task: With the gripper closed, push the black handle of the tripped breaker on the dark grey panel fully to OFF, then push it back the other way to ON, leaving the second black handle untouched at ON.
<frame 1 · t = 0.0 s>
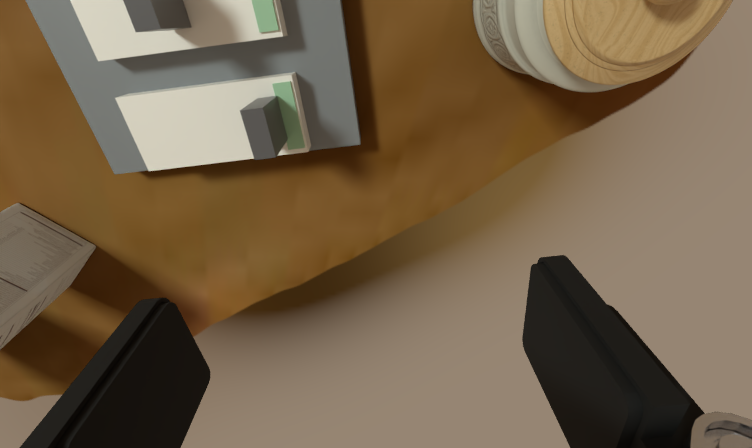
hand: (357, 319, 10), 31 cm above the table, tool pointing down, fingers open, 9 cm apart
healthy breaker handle: (266, 126, 31), point 7 cm above the table, slide at 5.5 cm
supplement box: (47, 246, 45), on the table
breaker panel: (215, 62, 35), on the table
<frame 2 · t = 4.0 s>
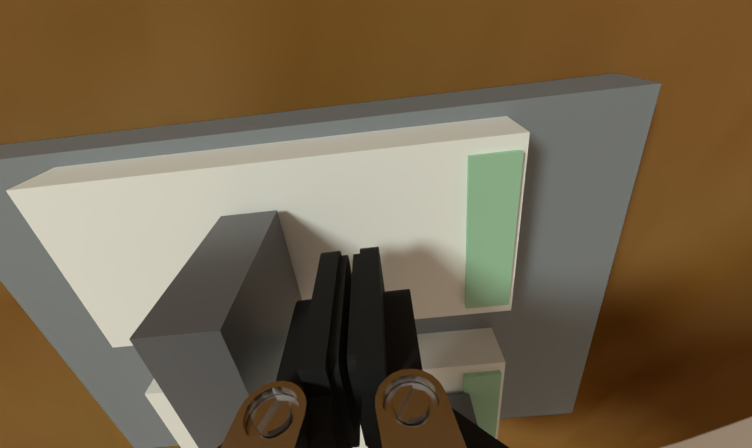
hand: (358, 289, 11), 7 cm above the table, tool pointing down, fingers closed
tripped breaker handle: (243, 317, 10), point 7 cm above the table, slide at -0.7 cm, touching gripper
breaker panel: (325, 285, 19), on the table
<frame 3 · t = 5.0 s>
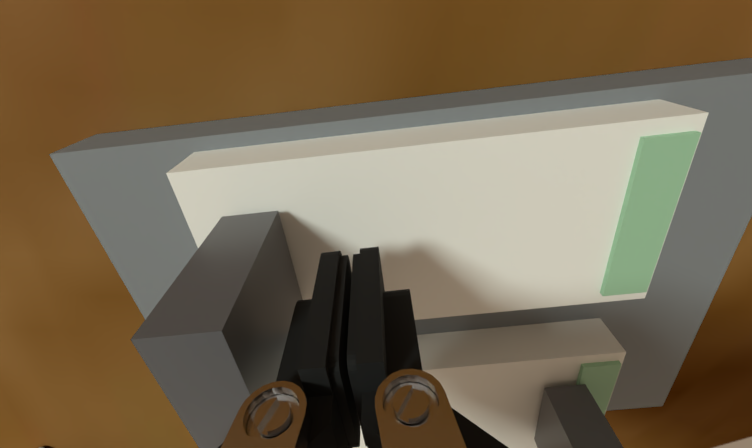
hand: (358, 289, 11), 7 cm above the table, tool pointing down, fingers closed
tripped breaker handle: (244, 317, 10), point 7 cm above the table, slide at -5.8 cm, touching gripper
breaker panel: (422, 276, 19), on the table
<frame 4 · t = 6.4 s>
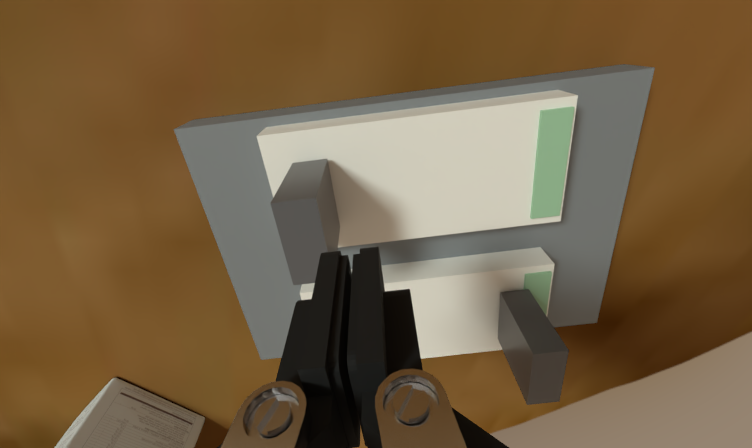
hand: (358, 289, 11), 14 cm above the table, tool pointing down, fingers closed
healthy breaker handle: (527, 343, 21), point 7 cm above the table, slide at 5.5 cm
supplement box: (141, 418, 35), on the table
tripped breaker handle: (311, 217, 17), point 7 cm above the table, slide at -5.6 cm
breaker panel: (415, 224, 26), on the table
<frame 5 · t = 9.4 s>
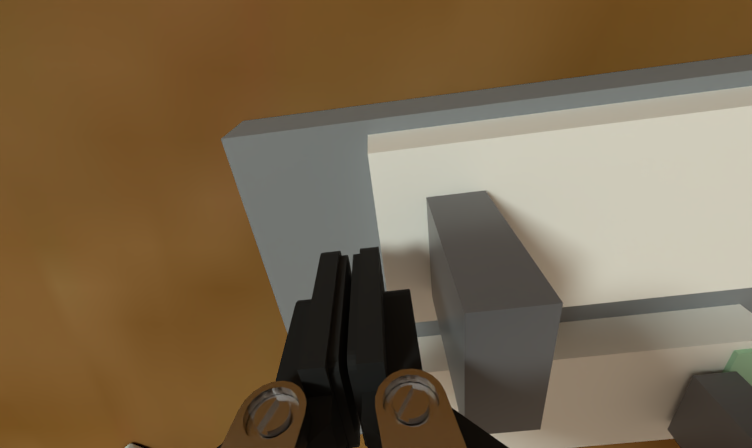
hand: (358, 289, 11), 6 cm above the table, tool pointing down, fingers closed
tripped breaker handle: (476, 298, 10), point 7 cm above the table, slide at -5.5 cm, touching gripper
breaker panel: (544, 265, 18), on the table
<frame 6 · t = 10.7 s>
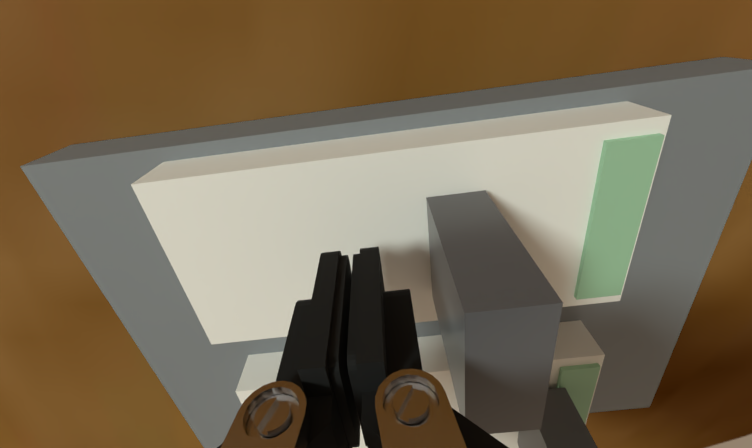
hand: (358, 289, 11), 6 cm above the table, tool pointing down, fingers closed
tripped breaker handle: (476, 298, 10), point 7 cm above the table, slide at 1.8 cm, touching gripper
breaker panel: (403, 280, 19), on the table
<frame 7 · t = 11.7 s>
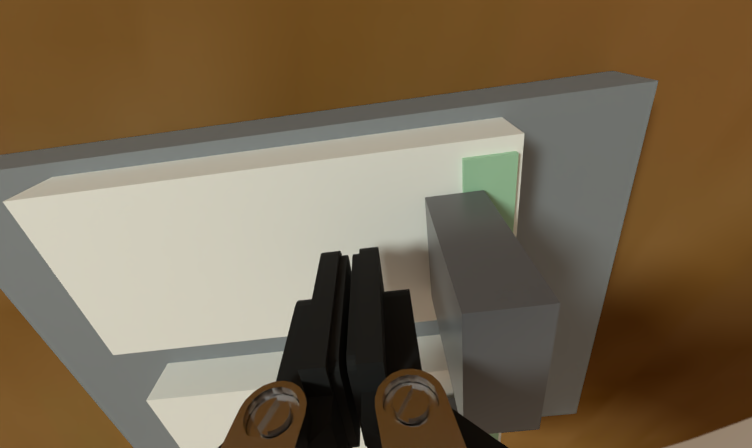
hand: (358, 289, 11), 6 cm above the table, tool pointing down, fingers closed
tripped breaker handle: (474, 298, 10), point 7 cm above the table, slide at 5.9 cm, touching gripper
breaker panel: (325, 289, 19), on the table
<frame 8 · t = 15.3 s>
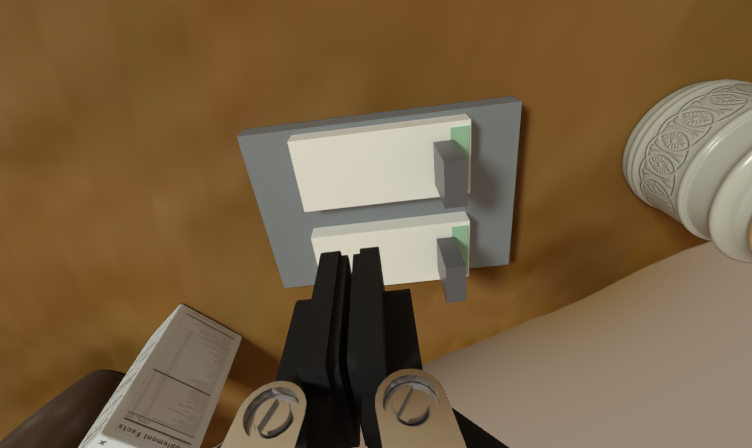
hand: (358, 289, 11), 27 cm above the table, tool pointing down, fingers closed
plant pot: (112, 385, 54), on the table
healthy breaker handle: (450, 268, 35), point 7 cm above the table, slide at 5.5 cm
supplement box: (197, 336, 49), on the table
jar: (682, 144, 37), on the table
tripped breaker handle: (449, 172, 30), point 7 cm above the table, slide at 5.6 cm
breaker panel: (386, 196, 39), on the table
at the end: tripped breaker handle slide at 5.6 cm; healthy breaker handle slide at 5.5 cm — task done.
